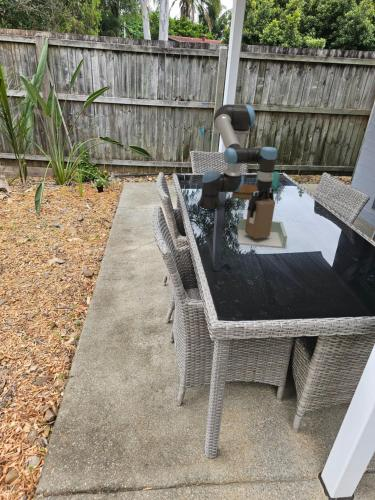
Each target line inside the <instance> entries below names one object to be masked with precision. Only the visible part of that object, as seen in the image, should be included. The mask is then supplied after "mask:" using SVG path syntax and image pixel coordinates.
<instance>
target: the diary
mask: <svg viewBox="0 0 375 500" xmlns="http://www.w3.org/2000/svg"><path fill="white" fill-rule="evenodd" d="M257 189H258V188H257V186H256V184H246V183H245V184H244V183H243V186H242V189H241V190H240V191H238V192H232V196H233V197H231V199H234V198H238V199H237V200H246V201H247V200H248V201H249V198H251V197H252V192H253V191H254V192H256V191H257Z"/></svg>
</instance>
